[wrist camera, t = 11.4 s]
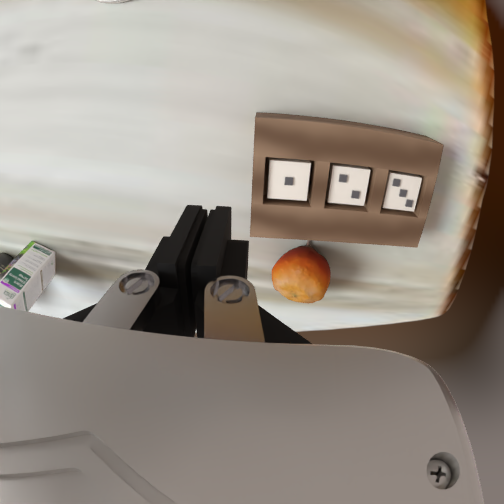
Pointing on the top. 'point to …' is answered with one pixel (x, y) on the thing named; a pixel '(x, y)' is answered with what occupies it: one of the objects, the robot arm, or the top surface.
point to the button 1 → (288, 178)
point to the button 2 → (347, 184)
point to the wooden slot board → (320, 155)
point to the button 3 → (401, 191)
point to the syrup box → (27, 277)
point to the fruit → (302, 275)
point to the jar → (4, 261)
